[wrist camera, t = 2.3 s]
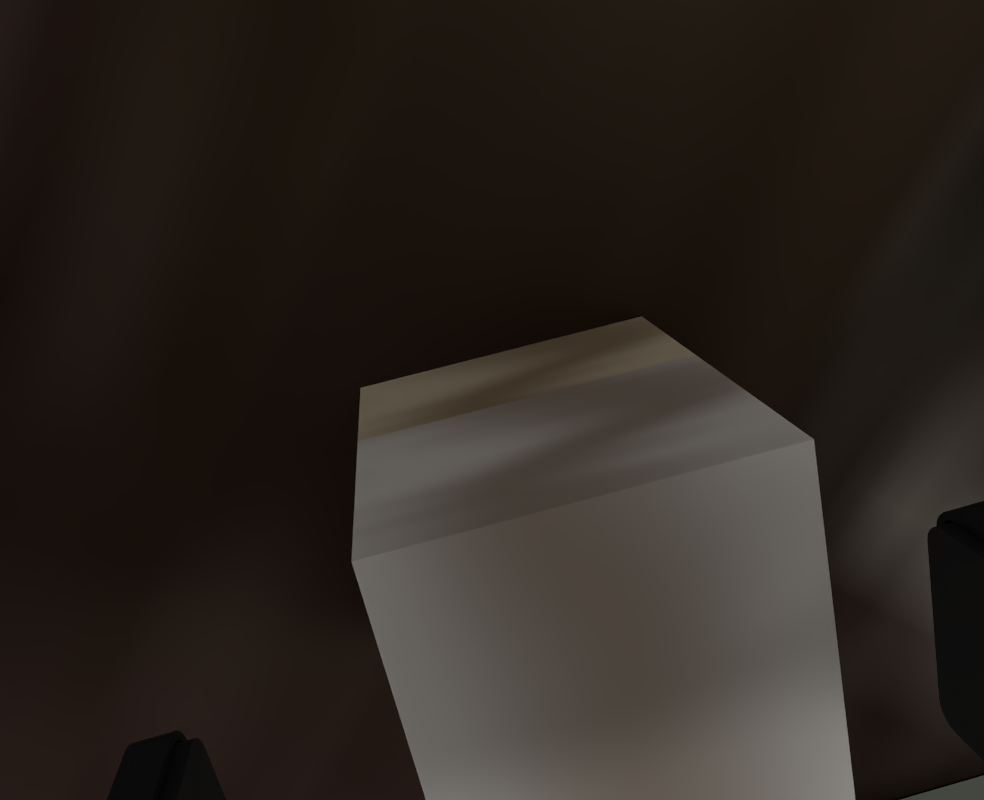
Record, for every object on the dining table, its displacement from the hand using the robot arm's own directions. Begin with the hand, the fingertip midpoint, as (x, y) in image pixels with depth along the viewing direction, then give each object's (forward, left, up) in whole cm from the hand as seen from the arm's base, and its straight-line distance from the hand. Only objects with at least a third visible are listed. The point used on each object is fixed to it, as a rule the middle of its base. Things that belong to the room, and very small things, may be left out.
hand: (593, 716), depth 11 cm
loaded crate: (-1, 0, -7) cm, 7 cm away
